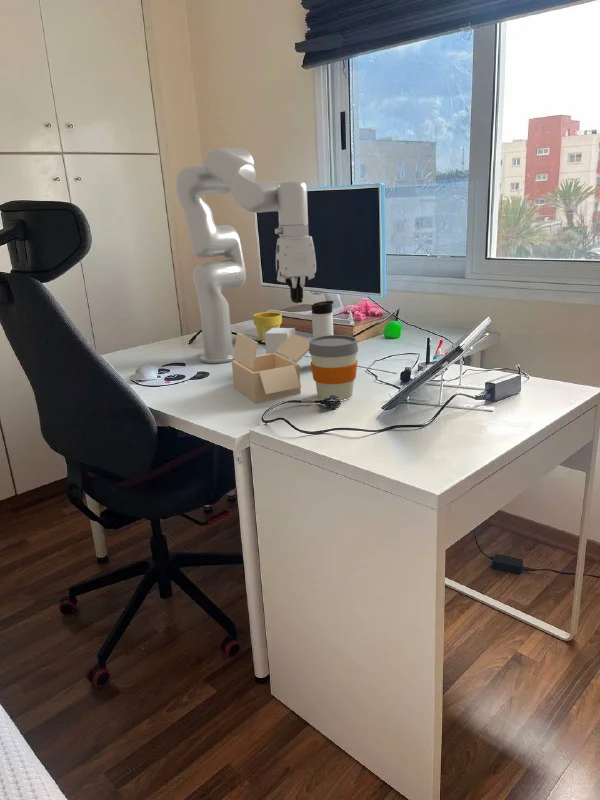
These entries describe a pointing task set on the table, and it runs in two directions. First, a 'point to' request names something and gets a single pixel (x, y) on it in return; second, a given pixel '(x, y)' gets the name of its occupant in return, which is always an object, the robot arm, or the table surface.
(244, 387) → the carton
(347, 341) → the reusable coffee cup
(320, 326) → the travel mug
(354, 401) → the table surface
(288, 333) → the supplement box
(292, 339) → the flap
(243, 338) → the flap
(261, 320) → the plant pot
